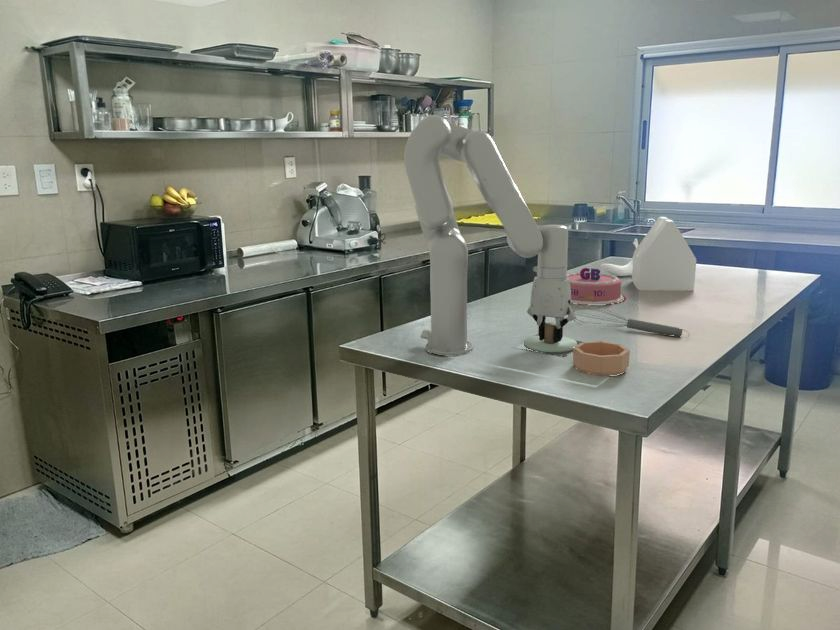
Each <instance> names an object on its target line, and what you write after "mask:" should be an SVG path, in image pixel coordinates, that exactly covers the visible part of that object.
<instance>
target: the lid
mask: <svg viewBox="0 0 840 630" xmlns="http://www.w3.org/2000/svg"><path fill="white" fill-rule="evenodd" d="M555 328H556V322H545V328H544V340H539V335H538V336H535V335H533V336H530V337H526V338H525V339H523V341H524V346H525V347H526V348H528V349H531V350H533V351H538V352H545V353H562V352H568V351H572V350H573V347H575V346H576V345H577V342H576V341H577V340H576V341H575V339H573V338H571V337H568V336H563V337H562V339H561V341H559V342H558V343H554V329H555ZM538 352H537V353H538Z"/></svg>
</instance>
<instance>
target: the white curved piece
mask: <svg viewBox="0 0 840 630" xmlns="http://www.w3.org/2000/svg"><path fill="white" fill-rule="evenodd" d="M632 245H634V247H635V249H636V248H637V247H638V245H639V241H638V239H637V238H634V240H633V242H632ZM600 267H601V269H603V271H605V272H606V273H607V274H610V275H613V276H616V277H627V276H630V275H631V276H632V269H633V257H632V258H631V260H630V261H629V262H628V263H627V264H625V265H618V264H612V263H601V265H600Z"/></svg>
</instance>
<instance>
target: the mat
mask: <svg viewBox="0 0 840 630" xmlns="http://www.w3.org/2000/svg"><path fill="white" fill-rule="evenodd" d="M534 336H538V333H537V334H536V335H534ZM574 340H575V339H574ZM575 341H576V342H577V345H578V344H580V343H581V342H583V340H581V341H580V340H575ZM571 352H572V353H573V350H572V351H568V352H562V353H545V352H543V353H545V354H544V355H549V354H550V355H549V356H554V355H556V356H555V357H560V356H561V355H562V357H561V358H565V357H567V356H568V355H567V354H569V353H570V354H572V353H571ZM543 353H542V354H543ZM570 354H569V355H570Z"/></svg>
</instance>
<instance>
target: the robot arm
mask: <svg viewBox="0 0 840 630" xmlns="http://www.w3.org/2000/svg"><path fill="white" fill-rule="evenodd" d="M497 147H498V146H497V145H496V143H495V141H494V140H493V138H492V137H491V135H490V134H488V132H485V131H484V130H483V131H482V130H474V129H473V130H472V129H469V128H467V127H462V126H460V125H458V124H456V123H452V122H449V121H448V120H447V119H446V118H444V117H443V116H441V115H437V114H431V115H430V114H429V115H427V116H425V117H423V118H422V119H421V120H420V121H419V122H418V123H417V124H416V126H415V127H414V129H413V130H412V131H411V133H410V135H409V136H408V139H407V141H406V144H405V148H404V157H403V158H404V160H403V161H404V167H405V172H406V177H407V179H408V182H409V186H410V191H411V194H412V196H413V199H414V202H415V204H414V205H415V207H414V208H415V213H416V216H417V218H418V221H419V225H420V228H421V232H422V235H423V236H424V239H425V242H426V246H427V248H428V253H429V262H430V263H429V266H430V267H429V273H430V274H429V285H430V286H429V290H430V291H429V292H430V330H428V329H423V330H422V331H421V334H420V338H421V339H422V340H427V343H426V344H425V351H426V350H427V351H429V352H431V353H434V354H438V355H437V356H439V355H456V356H460V355H459V354H463V355H465V354H464V353H467V354H469V353H471V352H472V351H474V344H473V343H472V342H470V341H468V264H469V263H468V262H469V248H468V244H467V242H466V240H465V238H464V237H463V235H462V234H461V231H460V228H459V225H458V221H457V218H456V215H455V212H454V203H453V201H452V198H451V197H450V194H449V191H448V189H447V185H446V183H445V182H446V181H445V179H444V175H443V172H442V168H441V165H440V155H442V156H444V157H445V158H446V157H447V158H449V159H453V160H456V161H458V162H462V163H465V164H466V167H467V169H468V170H469V172H470V175H471V176H472V178H473V180H474V182H475V184H476V186H477V187H478V190H479V192H480V195H481V196H482V198H483V199H484V201H485V202H486V204H487V205H488V207H489V208H490V209H491V210H492V211H493V213H495V216H496V217H497V219H498V220H499V221H500V223H501V225H502V227H503V229H504V231H505V232H506V234H507V235H506V242H507V244H508V246H509V248H510V249H511V250H512V251H513V252H514V253H516V254H517V255H518V256H520V257H522V258H525V259H532V258H534V257H536V256H537V266H533V268H532V270H533V272H535V273H536V276H534V277H533V278H534V279H533V282H532V287H531V294H530V301H529V302H530V303H529V307H528V308H527V311H526V312H527V314H528V315H529V316H530V317H532V319H534V321H535V322H536V325H537V326H538V331H537V332H538V333H537V334H538V335H539V340H544V328H545V323H546V320H547V317H549V318H554V319H555V320H554V321H555V323H556V328H555V329H554V343H558V342H559V341H561V339H562V337H563V335H564V334H563V333H564V331H563V330H564V327H565V326H566V325H567V324H568V323H570V322H572V321H574V320H576V319H577V316H576V313H575V311H574V312H573V310H574V309H572V305H573V304H572V303H571V288H570V282H569V278H567V274H568V253H569V252H568V250H569V249H568V248H569V229H568V227H567V226H566V225H563V224H544V225H538V224H537V222H536V220H535V218H534V215H532V213H531V210H530V208H529V207H528V205H527V203H526V202H525V200H524V198H523V196H522V195H521V192H520V190H519V189H518V186H517V184H516V183H515V181H514V179H513V178H512V175H511V173H510V171H509V169H508V168H507V166H506V163H505V162H504V159H503V157H502V155H501V154H500V151H499V149H498V148H497ZM574 313H575V314H574ZM566 316H567V317H566ZM427 351H426V352H427ZM470 351H471V352H470ZM468 352H469V353H468ZM431 353H430V354H431ZM434 354H433V355H434Z"/></svg>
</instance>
